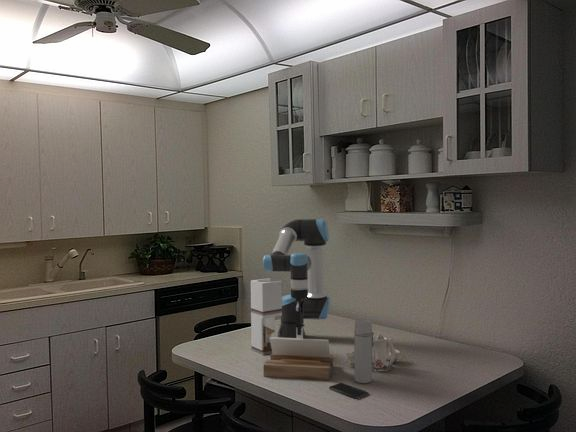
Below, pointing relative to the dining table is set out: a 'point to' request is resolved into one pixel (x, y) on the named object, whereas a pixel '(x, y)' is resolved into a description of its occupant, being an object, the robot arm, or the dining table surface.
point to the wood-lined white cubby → (264, 313)
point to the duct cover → (300, 347)
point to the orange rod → (300, 360)
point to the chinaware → (380, 354)
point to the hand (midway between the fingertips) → (299, 341)
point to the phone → (348, 391)
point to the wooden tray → (299, 367)
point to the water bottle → (363, 351)
